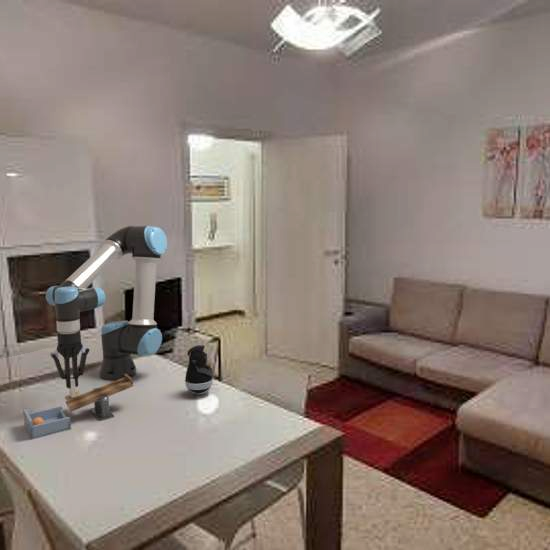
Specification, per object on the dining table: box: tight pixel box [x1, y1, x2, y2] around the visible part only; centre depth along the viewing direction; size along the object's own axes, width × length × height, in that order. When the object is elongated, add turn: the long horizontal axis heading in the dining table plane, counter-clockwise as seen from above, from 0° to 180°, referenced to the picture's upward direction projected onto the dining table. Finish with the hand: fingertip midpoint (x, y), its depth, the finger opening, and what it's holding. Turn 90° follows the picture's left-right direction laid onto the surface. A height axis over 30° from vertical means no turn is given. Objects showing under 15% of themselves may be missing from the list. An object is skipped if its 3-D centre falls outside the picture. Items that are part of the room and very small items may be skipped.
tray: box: [22, 405, 72, 440], centre depth 165 cm, size 12×12×6 cm
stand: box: [89, 387, 115, 422], centre depth 175 cm, size 5×11×8 cm, turn 36°
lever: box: [64, 374, 134, 413], centre depth 178 cm, size 22×13×3 cm, turn 126°
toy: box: [184, 344, 214, 395], centre depth 191 cm, size 11×11×20 cm
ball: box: [33, 417, 44, 426], centre depth 164 cm, size 4×4×4 cm
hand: (72, 396), depth 176 cm, fingers closed
